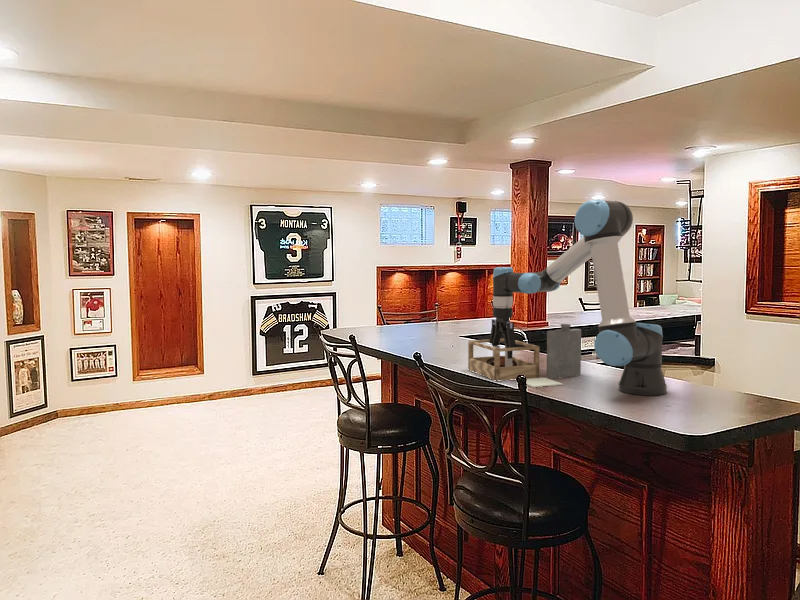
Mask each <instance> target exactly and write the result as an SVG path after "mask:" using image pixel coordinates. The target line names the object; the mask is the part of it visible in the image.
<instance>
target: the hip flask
mask: <svg viewBox="0 0 800 600" xmlns="http://www.w3.org/2000/svg"><path fill="white" fill-rule="evenodd" d="M560 327H561V328H560V329H553V330H548V331H546V378H547V377H548V379H550V378H554V379H560V378H559V377H565V378H569V377H568V376H572V377H577V376H576V375H578V376H581V375H580V374H582V373H581V372H582V371H581V370H582V368H581V366H582V364H581V362H582V361H581V360H582V359H581V358H582V329H581V328H572V329H571V328H570V327H571V324H570V323H561V324H560Z"/></svg>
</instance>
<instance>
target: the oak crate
mask: <svg viewBox="0 0 800 600" xmlns="http://www.w3.org/2000/svg"><path fill="white" fill-rule="evenodd" d="M500 342H501V343H502V342H503V343H505V340H504V338H500V341H499V343H500ZM515 342H516V345H520V346H516V347H515V348H506V345H505V344H504V347H503V348H502V347H500V348H494V347H493V346H492V345H491V346H490V345H488V344H487V343H490V338H489V339H476V340H475V339H474V340H468V342H467V343H468V347H467V349H468V351H467V352H468V355H467V356H468V357H467V358H468V359H467V361H468V362H467V364H468V365H467V366H468V367H467V369H469V370H471V371H474V372H477V373H479V374H481V375H484V376H486V377H488V378H491V379H493V380H496V381H498V380H510V379H516V377H517V376H518V375H525V376H526V378H527V379H531V378H540V345H535V344H532V343H527V342H523V341H520V340H516V339H515ZM484 343H485V344H484ZM486 344H487V345H486ZM474 346H476V347H480V348H483V349H486V350H490V351H492V352H493V351H494V366H492V365H489V364H487V362H486V361H487V360H488V359H490V358H492V357H493V355H492V356H478V357H474ZM527 350H528V351H531V350H533V362H532V361H531V362H530V361H527V360H524V359H521V358H518V357H515V356H512V359H513V360H515V361H516V363H517V366H513V363H512V366H511V367H500V356H501V352H505V351H514V352H515V351H516V352H518V351H527ZM502 356H503V357H505V355H502ZM469 370H468V371H469ZM471 371H470V372H471ZM474 372H473V373H474ZM479 374H478V375H479ZM481 375H480V376H481ZM484 376H483V377H484ZM486 377H485V378H486ZM488 378H487V379H488ZM491 379H490V380H491ZM493 380H492V381H493ZM496 381H495V382H496ZM510 381H511V380H510ZM498 382H499V381H498Z"/></svg>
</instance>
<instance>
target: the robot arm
mask: <svg viewBox="0 0 800 600" xmlns="http://www.w3.org/2000/svg"><path fill="white" fill-rule="evenodd" d="M633 222H634V215H633V213H632V210H631V208H630V207H629V206H628V205H627V204H625V203H624V202H621V201H617V200H614V201H613V200H603V199H601V198H600V199H599V198H598V199H590V200H587V201H585V202H583V203H582V204H581V205H580V206H579V207H578V209H577V211H576V212H575V215H574V226H575V229H576V230H577V231H576V232H578V233H579V234H580V235H582V237H581V238H580V239H579V240H578V241H576V242H575V243H574V244H573V245H572V246H571V247H569V248H568V249H567V250H566V251H565V252H563V253H562V254H561V255H560V256H559V257H557V258H556V259H555V260H554V261H552V262H551V263H550V264H549V265H548V266H547V267H546V268H545V269H543V270H542V271H538V272H514V268H513V267H510V266H507V267H506V266H501V267H500V266H499V267H495V268H494V269H493V273H492V274H493V275H492V291H493V294H492V306H493V308H492V317H493V318H495V319H492V320H491V330H490V338H489V339H490V342H489V344H491V347H494V348H501V346H500V345H501V344H500V342H499V341H500V339H502V338H501V337H502V336H503V339H504V340H505V341H504V346H505V345H506V348H515V347H517V344H516V342H515V340H516V337H515V335H516V334H515V322H511V321H510V319H511V318H512V317H513V314H514V313H513V310H514V309H513V308H512V307H513V305H514V304H513V301H514V298H513V296H514V294H513V293H518V294H527V295H528V294H536V293H542V292H543V293H544V292H545V293H546V292H547V293H550V292H554V291H556V290H558V289H559V288H560V286H561V283H562V281H564V279H566V278H567V277H568V276H570V275H571V274H572V273H574V272H575V271H576V270H578V268H580V267H581V266H582V265H584V264H585V263H586V262H587V261H589V260H590V259H592V267H593V271H594V278H595V285H596V290H597V296H598V302H599V303H598V304H599V309H600V314H601V315H600V316H601V322H600V323H599V324H598V326H597V327H598V334H597V335H596V338H595V340H594V342H593V344H594V351H595V354H596V355H597V357H598V359H599V360H601V361H602V362H603V363H604V364H606V365H608V366H612V367H623V366H624V368H623V371H622V372H621V373H622V374H621V377H620V379H619V382H618V390H619V391H621V392H623V393H625V394H630V395H637V396H662V395H665V394H667V392H668V390H667V389H668V388H667V387H668V386H667V384H666V380H665V377H664V374H663V373H664V372H663V370H662V369H663V368H662V367H663V365H662V363H663V338H664V335H663V327H662V326H661V325H659V324H655V323H643V322H637V320H635V319H634V318H632V317H631V315H630V310H629V304H628V297H627V292H626V291H627V290H626V285H625V279H624V274H623V273H624V272H623V267H622V260H621V254H620V248H619V242H620V241H621V239H622V238H623V237H624V236H625V235H626V234H627V233H628V232H629V231H630V229H631V228H632V225H633ZM492 356H493V357H494V351H492ZM504 356H505V367H511V366H512V357H513V351H504ZM493 362H494V361H493Z"/></svg>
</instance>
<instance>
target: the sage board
mask: <svg viewBox="0 0 800 600" xmlns="http://www.w3.org/2000/svg"><path fill="white" fill-rule="evenodd" d="M556 385H561V386H563V385H564V384H563V383H562V382H559V381H556V380H553V379H550V378H547V377H545V376H544V377H539V378H531V379H527V385H526V386H527V387H529V388H533V389H536V387H537V388H544V387H543V386H549V387H557V386H556Z"/></svg>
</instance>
